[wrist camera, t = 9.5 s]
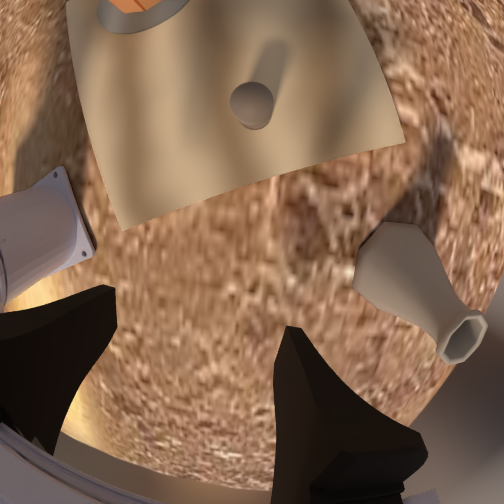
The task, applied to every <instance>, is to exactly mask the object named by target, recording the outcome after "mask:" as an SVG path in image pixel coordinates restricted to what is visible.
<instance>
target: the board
mask: <svg viewBox="0 0 504 504" xmlns="http://www.w3.org/2000/svg"><path fill="white" fill-rule="evenodd" d="M66 16H67V26H68V35H69V42H70V49H71V56H72V62H73V68H74V73H75V78H76V84H77V88H78V93H79V98H80V102H81V106H82V110H83V114H84V118H85V122H86V126H87V130H88V133H89V137H90V141H91V144H92V147H93V151H94V154H95V157H96V161H97V164H98V167H99V170H100V173H101V176H102V179H103V182H104V185H105V188H106V191H107V193H108V196H109V199H110V202H111V204H112V207H113V210H114V212H115V215H116V218H117V220H118V223H119V225H120V228H121V230H122V231H124V230H127V229H129V228H131V227H134V226H136V225H139V224H141V223H144V222H146V221H149V220H151V219H154V218H156V217H159V216H161V215H164V214H167V213H169V212H172V211H174V210H177V209H180V208H182V207H185V206H188V205H191V204H193V203H196V202H199V201H202V200H204V199H207V198H210V197H213V196H216V195H219V194H222V193H225V192H227V191H230V190H233V189H236V188H239V187H242V186H245V185H249V184H252V183H255V182H258V181H261V180H264V179H267V178H271V177H274V176H277V175H280V174H284V173H287V172H291V171H294V170H297V169H301V168H304V167H308V166H311V165H315V164H319V163H322V162H326V161H330V160H333V159H337V158H341V157H345V156H349V155H353V154H357V153H361V152H365V151H369V150H374V149H378V148H382V147H387V146H391V145H396V144H400V143H405V139H404V135H403V131H402V128H401V124H400V121H399V118H398V114H397V111H396V108H395V105H394V102H393V99H392V96H391V93H390V90H389V88H388V85H387V82H386V79H385V77H384V74H383V72H382V69H381V67H380V64H379V62H378V59H377V57H376V55H375V53H374V50H373V48H372V46H371V44H370V41H369V39H368V37H367V35H366V33H365V31H364V29H363V27H362V25H361V23H360V21H359V19H358V17H357V15H356V13H355V12H354V10H353V8H352V6H351V4H350V3H349V1H348V0H161V1H160V2H158V3H157V4H155V5H154V6H152V7H151V8H149V9H148V10H146V9H145V10H144V11H142V12H132V13H124V12H122V11H121V10H119V9H118V8H117V7H116V6H115V5H113V4H112V3H111V2H110V1H109V0H69V1H68V2H67V3H66Z"/></svg>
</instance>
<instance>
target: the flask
mask: <svg viewBox="0 0 504 504" xmlns="http://www.w3.org/2000/svg"><path fill="white" fill-rule="evenodd" d="M352 288H354V289H355V290H356V291H357V292H358V293H359V294H360V295H362V296H363V297H364V298H365V299H366V300H367V301H368V302H369V303H371V304H372V305H373V306H374V307H376V308H378V309H380V310H383V311H385V312H388V313H390V314H393V315H395V316H398V317H400V318H402V319H404V320H406V321H408V322H410V323H412V324H414V325H416V326H419V327H420V328H421V329H422V330H424V331H425V332H426V333H427V334H429V335H430V336H431V337H432V338H433V339H434V341H435V342H436V344H437V347H436V353H437V354H438V356H439V357H440V358H441V359H442V360H443V361H444V362H445V363H446V364H447V365H450V364H455V363H460V362H464V361H465V360H466V359H467V358H468V357H469V356H470V355H471V354H472V353H473V352H474V350H475V349H476V348H477V347H478V346H479V345H480V343H481V341H482V339H483V336H484V334H485V332H486V330H487V327H488V323H487V321H486V319H485V317H484V315H483V314H482V312H481V311H479V310H471V309H469V308H468V307H467V306H466V305H465V304H464V303H463V302H462V301H461V300H460V299H459V298H458V296H457V295H456V293H455V292H454V290H453V287H452V285H451V283H450V281H449V278H448V276H447V274H446V272H445V270H444V267H443V265H442V262H441V260H440V258H439V255H438V253H437V251H436V249H435V247H434V246H433V245H432V243H431V242H430V241H429V240H428V238H427V237H426V236H425V235H424V233H423V232H422V231H421V230H420V228H419V227H418V226H417V225H415V224H406V223H395V222H383V223H382V224H381V226H380V227H379V228H378V229H377V230H376V231H375V233H374V234H373V235H372V236H371V237H370V238H369V239H368V241H367V242H366V243H365V244H364V245H363V246H362V247H361V248H360V249H359V251H358V255H357V261H356V267H355V273H354V279H353V284H352Z"/></svg>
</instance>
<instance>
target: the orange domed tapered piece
mask: <svg viewBox="0 0 504 504" xmlns="http://www.w3.org/2000/svg"><path fill="white" fill-rule="evenodd" d="M109 1H110V2H111V3H112V4H113V5H115V6H116V7H117V8H118V9H119V10H121V11H122V12H124V13H132V12H142V11H144V10H145V9H146V10H148V9H149V8H151V7H152V6H154V5H155V4H157V3H158V2H160V1H161V0H109Z"/></svg>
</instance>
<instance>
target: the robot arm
mask: <svg viewBox="0 0 504 504" xmlns="http://www.w3.org/2000/svg"><path fill="white" fill-rule="evenodd" d="M56 173H57V176H56ZM84 251H85V252H86V254H87V255H85V253H84ZM94 254H95V249H94V247H93V244H92V242H91V240H90V237H89V235H88V232H87V230H86V227H85V225H84V222H83V219H82V217H81V214H80V211H79V209H78V206H77V203H76V200H75V197H74V194H73V191H72V188H71V185H70V182H69V179H68V176H67V173H66V169H65V167H64V166H59V167H57V168H56V169H54V170H53V171H51V172H50V173H49V174H47V175H46V176H45V177H43V178H42V179H41V180H40V181H38V182H37V183H36V184H34V185H33V186H32V187H31V188H29V189H27V190H23V191H19V192H16V193H12V194H8V195H5V196H2V197H0V504H167V503H163V502H160V501H156V500H153V499H149V498H146V497H143V496H140V495H137V494H134V493H131V492H128V491H126V490H123V489H120V488H118V487H115V486H113V485H110V484H108V483H105V482H103V481H101V480H98V479H96V478H94V477H91V476H89V475H87V474H85V473H83V472H81V471H79V470H77V469H75V468H73V467H71V466H69V465H67V464H65V463H64V462H62V461H60V460H58V459H56V458H55V457H53V454H54V450H55V446H56V443H57V439H58V436H59V433H60V430H61V427H62V424H63V422H64V419H65V416H66V414H67V412H68V409H69V407H70V405H71V402H72V400H73V398H74V396H75V394H76V392H77V390H78V388H79V386H80V385H81V383H82V381H83V380H84V378H85V377H86V375H87V374H88V372H89V371H90V370H91V368H92V367H93V365H94V364H95V363H96V361H97V360H98V358H99V357H100V356H101V354H102V353H103V351H104V350H105V349H106V347H107V346H108V344H109V342H110V341H111V339H112V337H113V335H114V333H115V331H116V329H117V314H116V295H115V288H114V287H110V286H107V285H104V284H103V285H99V286H96V287H93V288H90V289H87V290H85V291H82V292H79V293H77V294H74V295H71V296H69V297H66V298H63V299H60V300H57V301H54V302H51V303H48V304H45V305H42V306H38V307H34V308H30V309H26V310H20V311H13V312H6V313H4V309H3V307H4V306H5V305H6V304H8V303H9V302H10V301H12V300H13V299H14V298H16V297H17V296H18V295H20V294H21V293H23V292H24V291H25V290H27V289H28V288H30V287H31V286H32V285H34V284H35V283H37V282H38V281H39V280H41V279H43V278H45V277H47V276H49V275H52V274H54V273H56V272H58V271H61V270H63V269H65V268H67V267H70V266H72V265H74V264H77V263H79V262H81V261H84V260H86V259H89V258H91V257H92V256H94ZM273 391H274V405H275V418H276V454H275V467H274V479H273V488H272V496H271V504H440V501H439V498H438V496H437V492H436V489H432V490H429V491H426V492H422V493H419V494H415V495H412V496H409V497H407V498H405V499H403V500H402V498H401V495H400V493H402V492H403V491H404V489H405V488H404V484H403V481H405V480H406V479H407V478H408V477H410V476H411V475H412V474H413V473H415V472H416V471H417V470H418V469H419V468H420V467H421V466H422V465H423V464H424V463H425V461H426V459H427V458H428V451H427V449H426V446H425V444H424V441H423V439H422V437H421V435H420V433H419V432H416V431H415V430H412V429H410V428H408V427H406V426H404V425H402V424H400V423H398V422H396V421H394V420H393V419H391V418H389V417H388V416H386V415H384V414H383V413H381V412H380V411H378V410H377V409H375V408H374V407H372V406H371V405H370V404H368V403H367V402H366V401H364V400H363V399H362V398H361V397H359V396H358V395H357V394H356V393H355V392H354V391H353V390H351V389H350V388H349V387H348V386H347V385H346V384H345V383H344V382H343V381H342V380H341V379H340V378H339V377H338V376H337V375H336V373H335V372H334V371H333V370H332V369H331V368H330V367H329V365H328V364H327V363H326V362H325V360H324V359H323V358H322V356H321V355H320V354H319V353H318V351H317V350H316V348H315V347H314V346H313V344H312V343H311V341H310V340H309V338H308V337H307V336H306V334H305V333H304V331H303V330H302V328H298V327H292V326H286V328H285V332H284V335H283V338H282V341H281V344H280V347H279V350H278V353H277V356H276V359H275V362H274V375H273Z"/></svg>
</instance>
